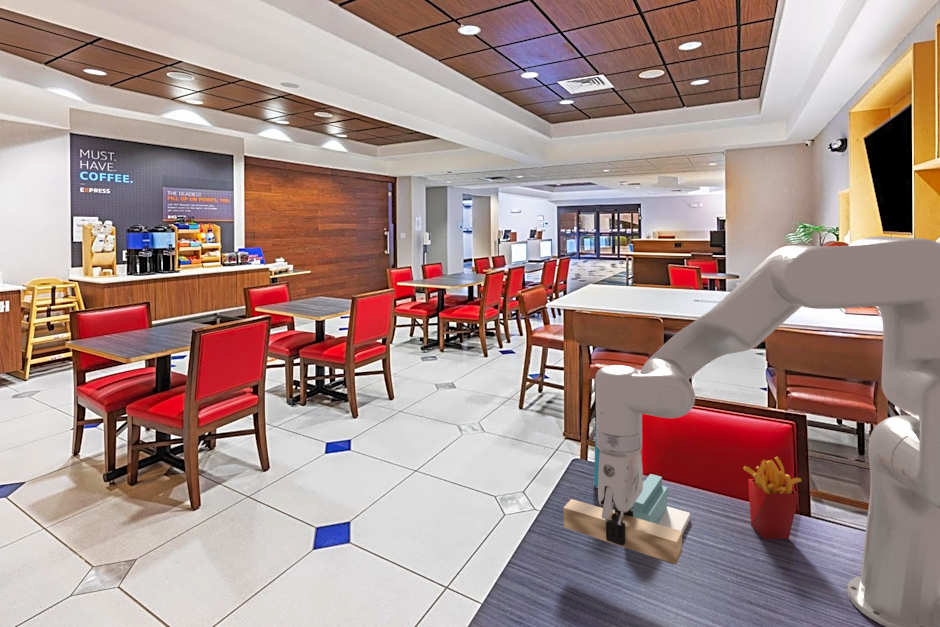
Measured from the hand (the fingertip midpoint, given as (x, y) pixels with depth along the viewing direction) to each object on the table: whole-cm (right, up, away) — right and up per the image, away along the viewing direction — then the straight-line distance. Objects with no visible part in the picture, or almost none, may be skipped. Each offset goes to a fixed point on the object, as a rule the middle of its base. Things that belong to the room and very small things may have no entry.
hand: (619, 535), depth 89 cm
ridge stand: (+10, -5, +16) cm, 19 cm away
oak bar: (0, -1, 0) cm, 1 cm away
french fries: (+33, -5, +14) cm, 36 cm away
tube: (+6, -3, +32) cm, 33 cm away
